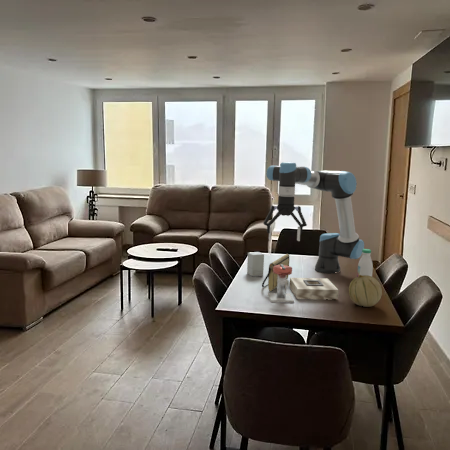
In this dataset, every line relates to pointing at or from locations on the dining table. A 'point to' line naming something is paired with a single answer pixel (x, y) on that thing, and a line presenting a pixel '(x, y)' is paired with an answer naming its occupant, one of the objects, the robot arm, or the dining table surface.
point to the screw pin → (282, 278)
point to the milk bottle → (365, 263)
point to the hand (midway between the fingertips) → (284, 240)
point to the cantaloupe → (365, 291)
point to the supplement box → (255, 264)
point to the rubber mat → (274, 298)
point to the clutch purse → (272, 276)
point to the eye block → (313, 288)
